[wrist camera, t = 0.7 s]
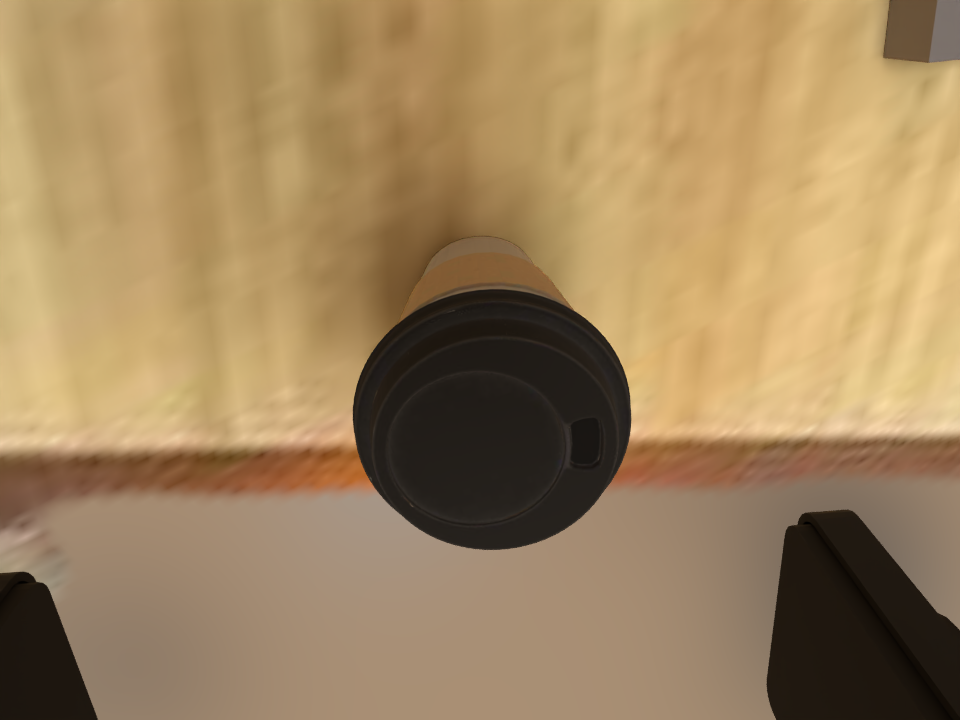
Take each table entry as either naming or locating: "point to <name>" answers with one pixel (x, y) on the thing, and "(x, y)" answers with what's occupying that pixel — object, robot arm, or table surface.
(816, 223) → the table surface
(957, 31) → the dome base
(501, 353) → the coffee cup
